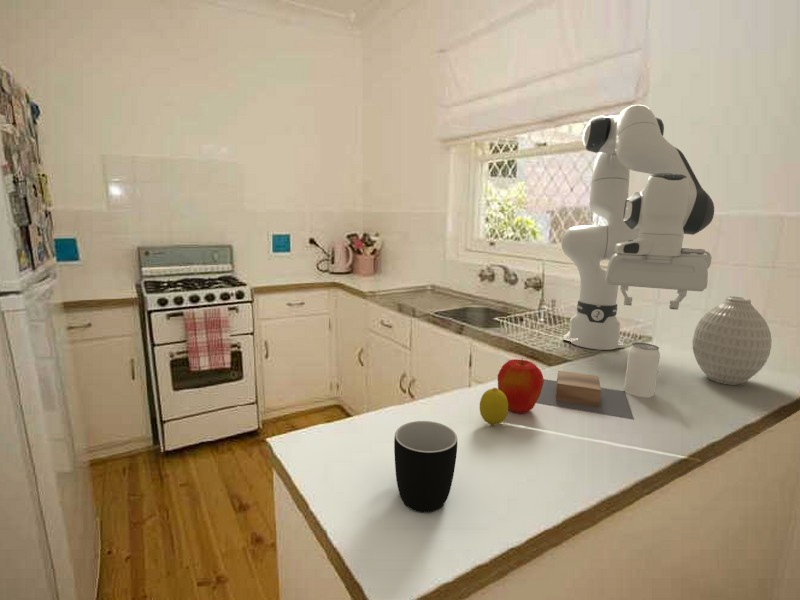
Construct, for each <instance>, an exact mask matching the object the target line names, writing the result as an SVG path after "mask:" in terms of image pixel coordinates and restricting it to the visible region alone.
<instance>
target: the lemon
mask: <svg viewBox="0 0 800 600" xmlns="http://www.w3.org/2000/svg"><path fill="white" fill-rule="evenodd" d="M508 412H509V408H508V401H507V397H506V396H505V394H504V393H503V392H502V391H500V390H498V387H493V388H490V389H487V390H486V391H485V392H484V393H483V394H482V396H481V398H480V402H479V414H480V416H481V418H482V419H483V420H484V422H485V423H487V424H489V425H490V426H492V427H494V426H496V425H499V424H501V423H503V422H504V421H505V420H506V419H507V416H508Z"/></svg>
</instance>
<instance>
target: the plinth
mask: <svg viewBox="0 0 800 600" xmlns="http://www.w3.org/2000/svg"><path fill="white" fill-rule="evenodd" d="M556 381H557V386H556V400H559V401H565V402H571V403H577V404H583V405H589V406H595V407H599V402H600V394H601V388H602V387H601V383H600V378H599V376H598V375H592V374H586V373H578V372H570V371H564V370H558V371H557V378H556Z"/></svg>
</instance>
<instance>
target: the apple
mask: <svg viewBox="0 0 800 600" xmlns="http://www.w3.org/2000/svg"><path fill="white" fill-rule="evenodd" d="M544 379H545V378H544V376H543V372H542V370H541V369H540V368H539V367H538V366H537V365H536V364H535V363H533V362H532V361H529V360H527V359H526V360H525V359H523V357H522V358H521V359H517V358H514V359H513V358H512V359H509V360H508V361H506V362H505V363H504V364H503V365H502V366H501V368H500V370H499V372H498V373H497V389H498V390H500V391H502V392H503V393H504V394H505V396H506V397H507V401H508V410H510V411H511V412H513V413H516V414H526V413H528V412H530V411H531V410H533V409H534V408H535V406H536V404H537V403H536V402H537V400H538V398H539V396H540V394H541V390H542V386H543V383H544Z"/></svg>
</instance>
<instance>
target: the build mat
mask: <svg viewBox="0 0 800 600" xmlns="http://www.w3.org/2000/svg"><path fill="white" fill-rule="evenodd" d="M543 379H544V383H543V386H542V390H541V394H540V396H539V398H538V400H537V402H536V404H538V405H545V406H552V407H555V408H556V407H558V408H563V409H569V410H575V411H580V412H588V413H594V414H599V415H603V416H604V415H605V416H610V417H618V418H621V419H622V418H623V419H628V420H634V419H635V418H634V415H633V411H632V409H631V406H630V403H629V399H628V397H627V394H626V392H625V391H624V390H619V389H612V388H606V387H605V388H604V387H601V394H600V402H599V407H595V406H589V405H583V404H577V403H571V402H565V401H559V400H556V386H557V380H551V379H545V378H543Z"/></svg>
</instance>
